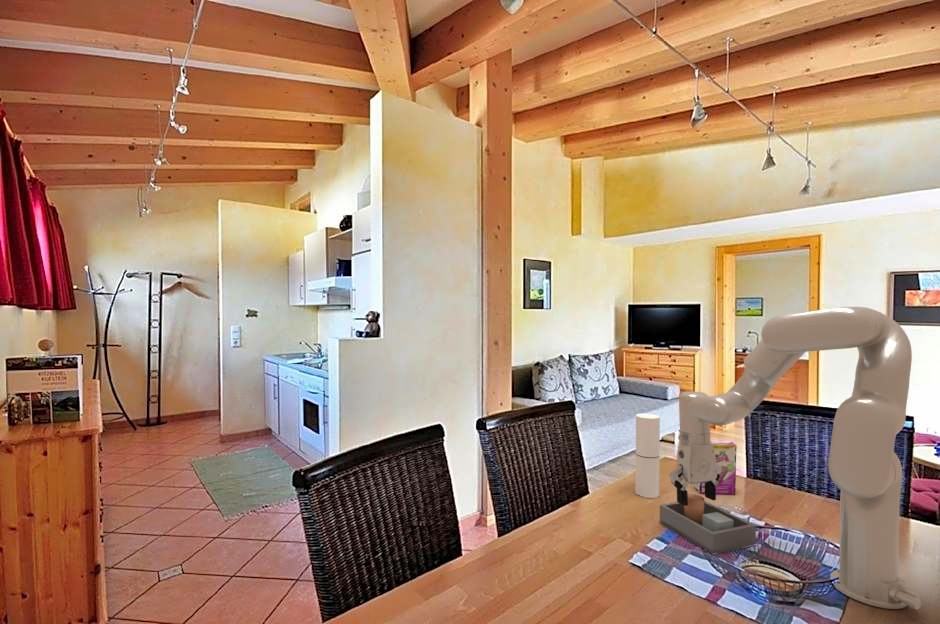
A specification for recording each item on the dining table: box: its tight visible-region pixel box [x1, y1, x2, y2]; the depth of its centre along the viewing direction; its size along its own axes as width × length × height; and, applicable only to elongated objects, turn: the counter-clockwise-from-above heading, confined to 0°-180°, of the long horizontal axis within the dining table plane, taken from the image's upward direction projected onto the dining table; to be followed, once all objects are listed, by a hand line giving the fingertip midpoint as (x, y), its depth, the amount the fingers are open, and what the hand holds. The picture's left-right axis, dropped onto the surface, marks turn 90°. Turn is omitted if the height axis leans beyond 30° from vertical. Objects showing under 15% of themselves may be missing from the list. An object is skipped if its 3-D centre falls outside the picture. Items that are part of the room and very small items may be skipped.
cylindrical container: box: [634, 412, 661, 499], centre depth 151 cm, size 7×7×25 cm
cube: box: [702, 512, 734, 532], centre depth 121 cm, size 5×5×5 cm
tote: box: [659, 500, 757, 554], centre depth 125 cm, size 18×14×5 cm
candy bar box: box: [694, 439, 738, 496], centre depth 153 cm, size 11×5×16 cm, turn 84°
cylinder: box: [684, 493, 705, 526], centre depth 128 cm, size 5×5×7 cm
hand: (696, 501), depth 128 cm, fingers open, 9 cm apart
